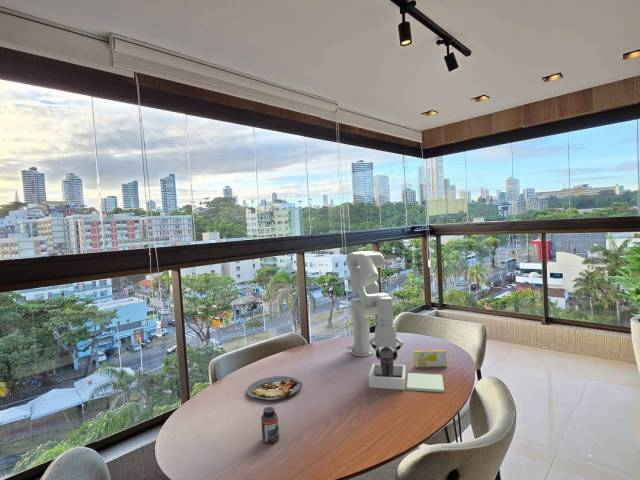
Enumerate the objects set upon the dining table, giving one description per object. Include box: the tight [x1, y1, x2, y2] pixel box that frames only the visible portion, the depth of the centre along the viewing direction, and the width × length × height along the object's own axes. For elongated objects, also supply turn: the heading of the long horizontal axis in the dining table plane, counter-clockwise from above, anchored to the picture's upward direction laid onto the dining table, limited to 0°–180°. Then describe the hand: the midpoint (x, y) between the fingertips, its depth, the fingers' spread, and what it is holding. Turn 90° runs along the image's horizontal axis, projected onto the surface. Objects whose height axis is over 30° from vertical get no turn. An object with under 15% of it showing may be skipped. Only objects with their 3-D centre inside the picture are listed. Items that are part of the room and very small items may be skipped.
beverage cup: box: [379, 347, 395, 377], centre depth 173 cm, size 7×7×20 cm
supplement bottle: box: [260, 406, 280, 445], centre depth 130 cm, size 6×6×11 cm
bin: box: [368, 363, 407, 391], centre depth 173 cm, size 16×16×5 cm
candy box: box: [413, 349, 448, 368], centre depth 188 cm, size 16×2×8 cm, turn 84°
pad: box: [406, 372, 445, 393], centre depth 169 cm, size 16×16×1 cm
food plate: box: [246, 375, 302, 401], centre depth 170 cm, size 25×23×4 cm
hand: (386, 358), depth 173 cm, fingers closed on beverage cup, 7 cm apart
